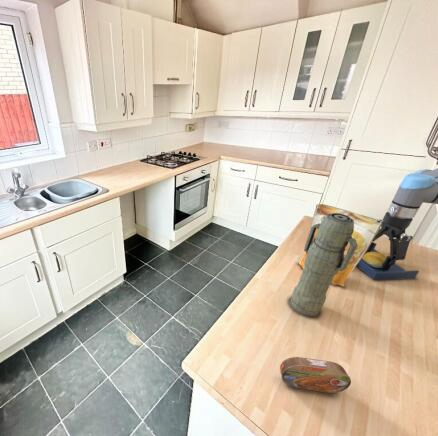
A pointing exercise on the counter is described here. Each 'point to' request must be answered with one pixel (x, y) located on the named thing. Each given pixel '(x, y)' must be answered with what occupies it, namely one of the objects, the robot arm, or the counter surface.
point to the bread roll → (374, 259)
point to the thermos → (323, 262)
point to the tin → (314, 375)
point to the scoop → (386, 271)
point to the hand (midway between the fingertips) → (374, 262)
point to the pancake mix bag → (362, 234)
